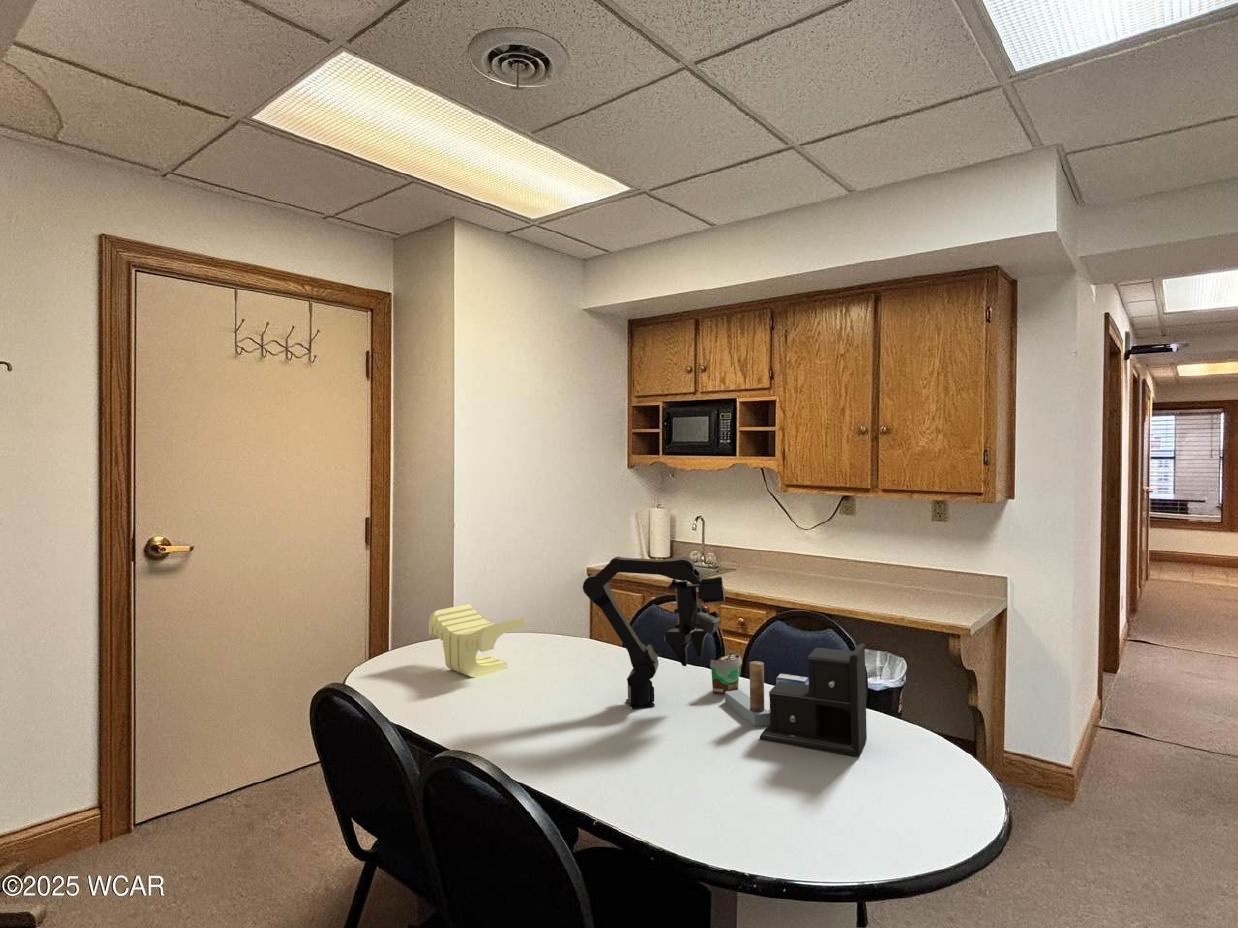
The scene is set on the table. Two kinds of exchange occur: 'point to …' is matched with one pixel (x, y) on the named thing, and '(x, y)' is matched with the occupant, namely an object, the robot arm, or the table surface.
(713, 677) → the food container
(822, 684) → the black desk organizer
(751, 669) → the walnut dowel
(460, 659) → the slatted curved stool
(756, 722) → the ridge bar
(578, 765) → the table surface
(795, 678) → the medicine box
